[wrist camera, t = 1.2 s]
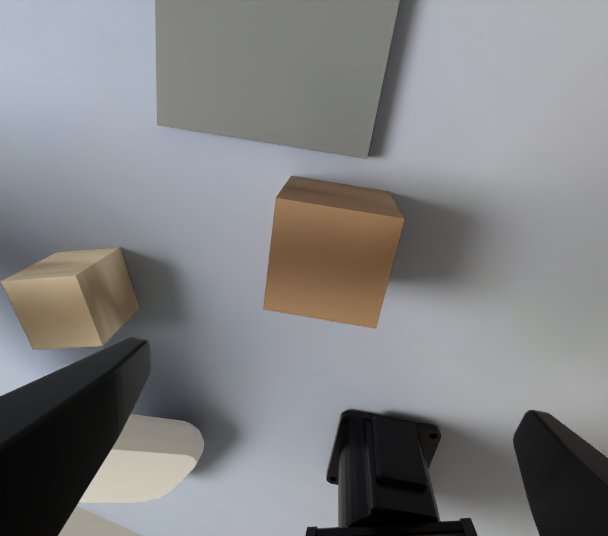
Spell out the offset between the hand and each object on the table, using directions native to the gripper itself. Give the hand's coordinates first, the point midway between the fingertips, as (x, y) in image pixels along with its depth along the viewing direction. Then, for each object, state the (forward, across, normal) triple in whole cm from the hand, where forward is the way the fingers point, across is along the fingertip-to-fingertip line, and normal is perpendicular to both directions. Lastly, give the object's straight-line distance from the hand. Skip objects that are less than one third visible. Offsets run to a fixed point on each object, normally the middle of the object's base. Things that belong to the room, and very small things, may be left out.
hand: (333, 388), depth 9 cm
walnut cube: (+12, 0, 0) cm, 12 cm away
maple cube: (+12, +13, +6) cm, 19 cm away
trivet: (+12, +4, -8) cm, 15 cm away
